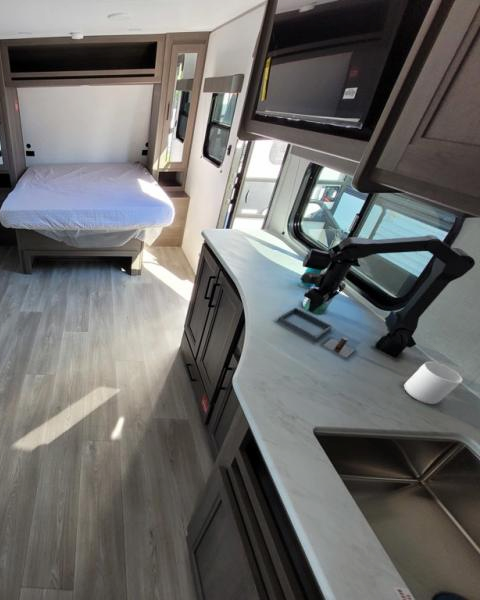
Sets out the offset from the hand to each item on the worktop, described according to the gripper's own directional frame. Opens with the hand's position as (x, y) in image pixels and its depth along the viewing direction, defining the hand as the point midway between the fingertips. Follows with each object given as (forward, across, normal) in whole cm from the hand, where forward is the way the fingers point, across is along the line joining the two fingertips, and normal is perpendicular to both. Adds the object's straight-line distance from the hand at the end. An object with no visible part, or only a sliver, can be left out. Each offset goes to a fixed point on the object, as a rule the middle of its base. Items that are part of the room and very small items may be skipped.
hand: (314, 308), depth 117 cm
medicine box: (+9, -18, -4) cm, 21 cm away
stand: (+9, +2, +13) cm, 16 cm away
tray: (+9, 0, 0) cm, 9 cm away
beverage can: (+9, -35, -15) cm, 39 cm away
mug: (+9, +1, +36) cm, 37 cm away
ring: (+1, 0, 0) cm, 1 cm away
